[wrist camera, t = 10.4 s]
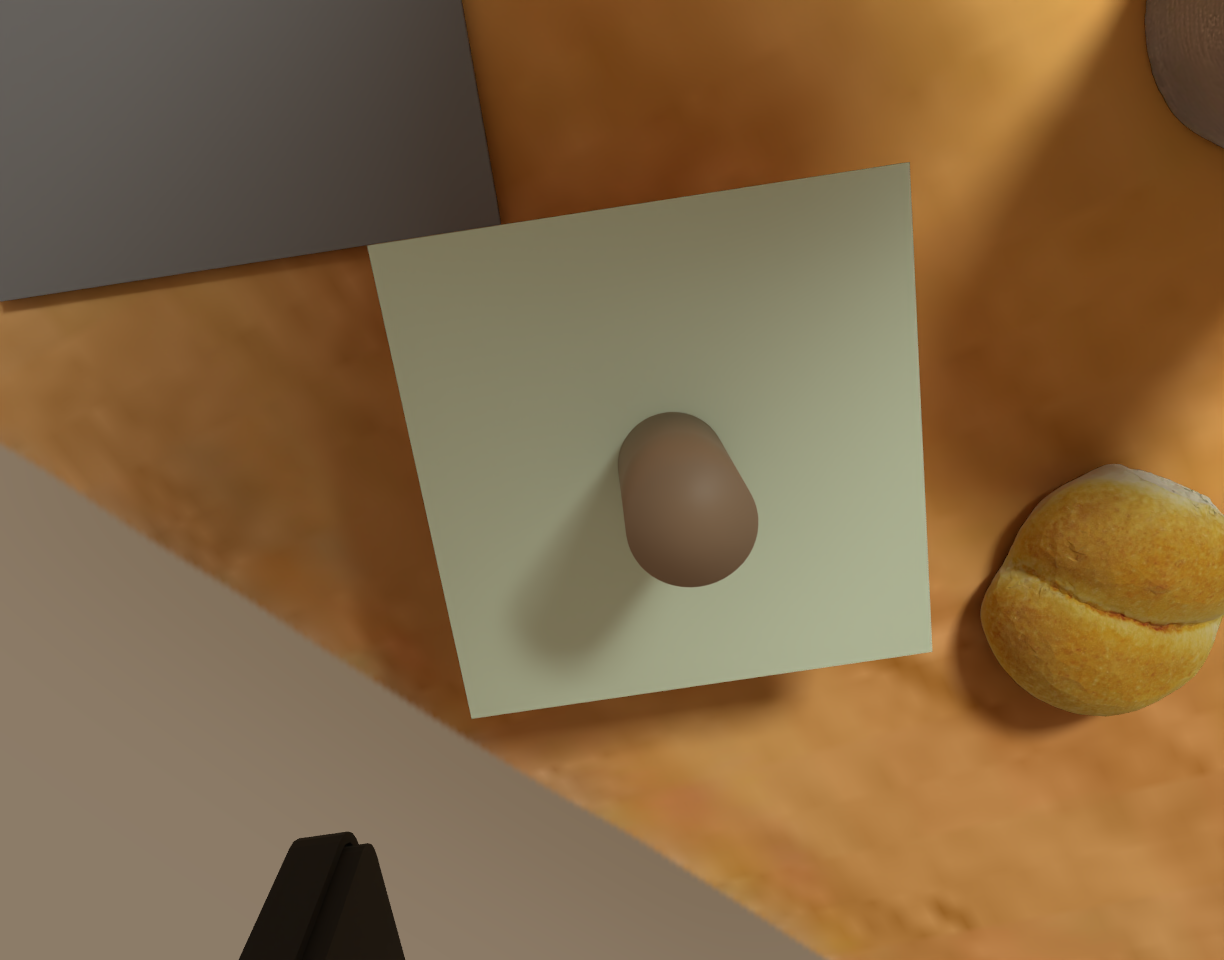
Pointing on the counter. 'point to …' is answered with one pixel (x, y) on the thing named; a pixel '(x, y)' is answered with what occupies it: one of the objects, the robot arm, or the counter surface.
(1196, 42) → the pillar candle
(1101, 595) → the bread roll
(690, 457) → the lid
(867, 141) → the counter surface
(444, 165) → the mat
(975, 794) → the counter surface
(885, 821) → the counter surface
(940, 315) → the counter surface
